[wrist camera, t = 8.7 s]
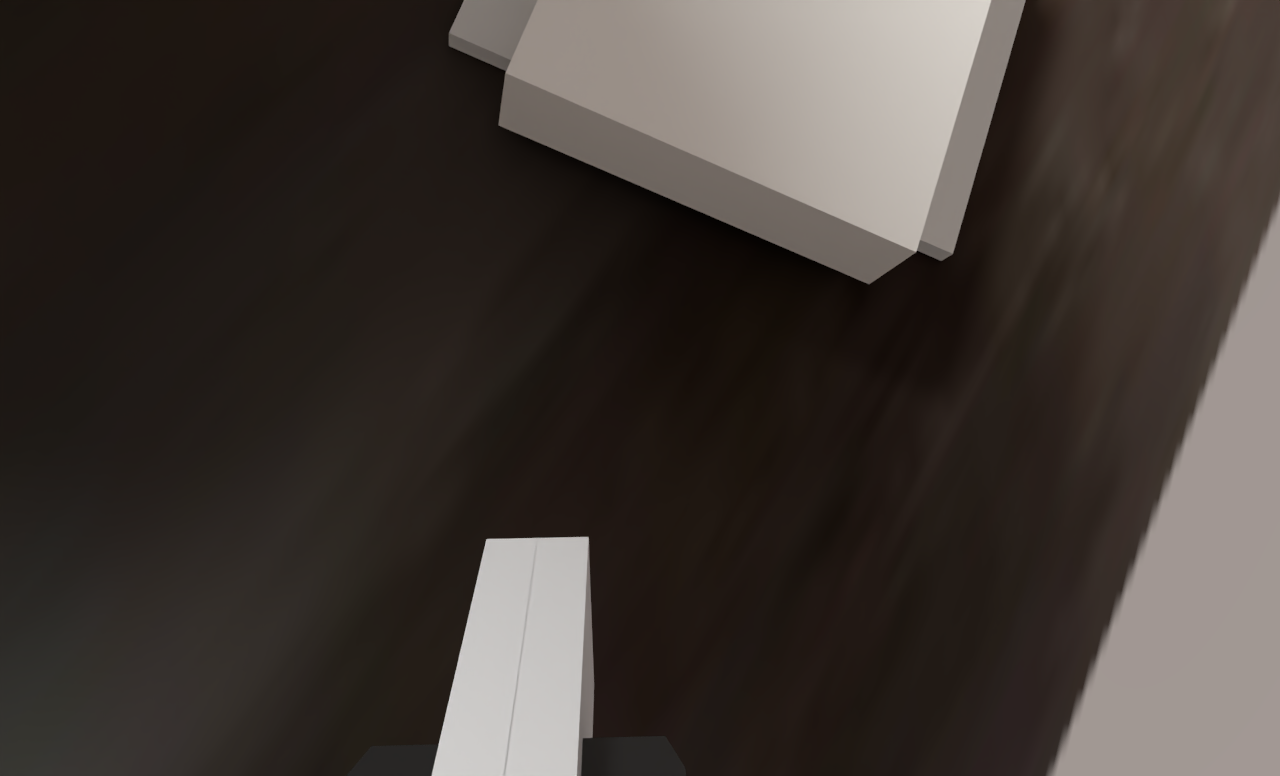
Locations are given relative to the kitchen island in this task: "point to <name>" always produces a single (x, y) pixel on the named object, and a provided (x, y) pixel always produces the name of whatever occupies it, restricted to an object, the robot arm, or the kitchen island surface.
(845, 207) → the tile
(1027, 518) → the kitchen island surface
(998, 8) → the mat
